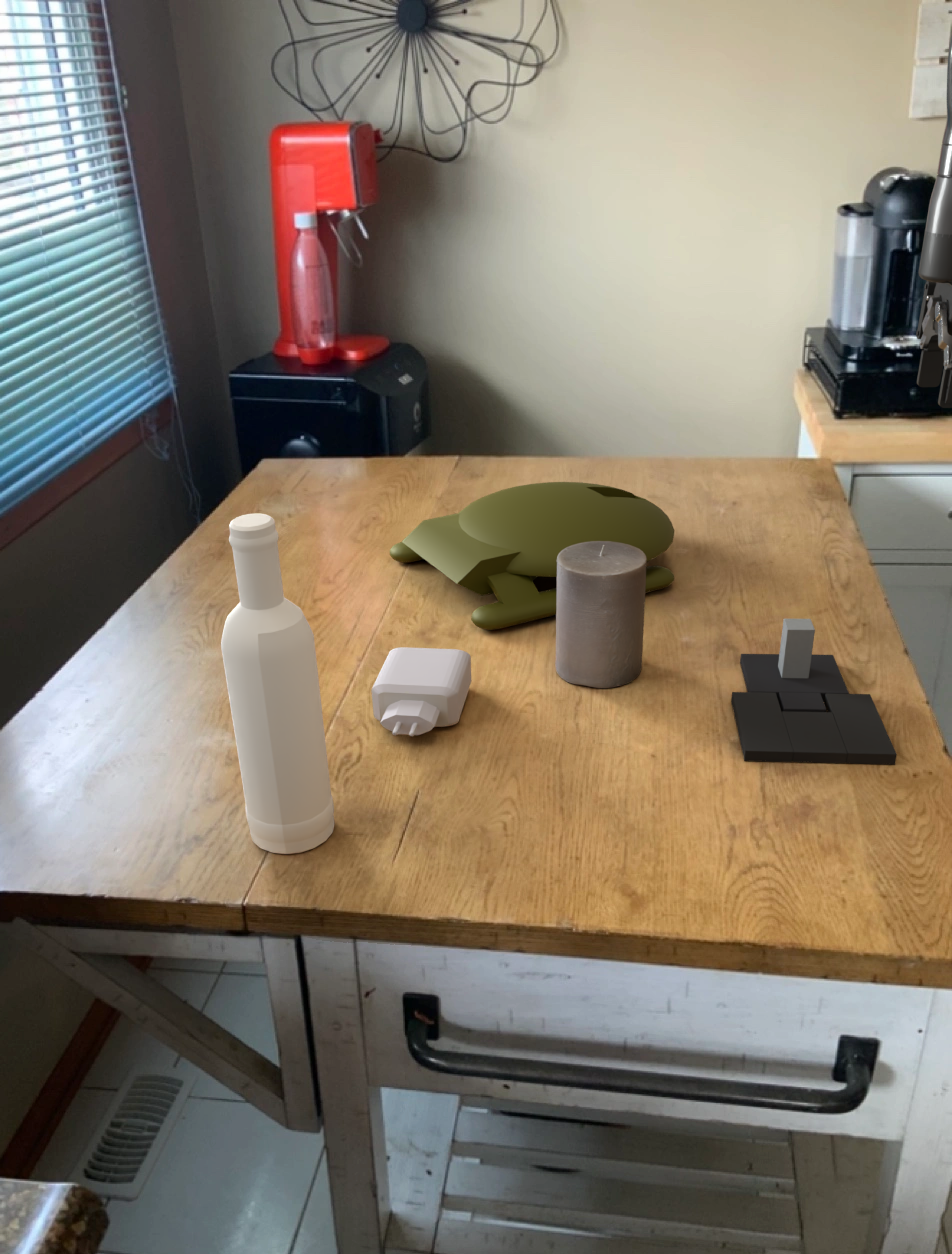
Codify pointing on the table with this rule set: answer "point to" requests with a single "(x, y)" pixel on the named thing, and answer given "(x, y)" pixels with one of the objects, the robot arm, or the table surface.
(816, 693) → the loose pad
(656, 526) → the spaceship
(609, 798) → the table surface
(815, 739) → the pad
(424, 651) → the charger
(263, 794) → the bottle
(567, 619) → the pillar candle
